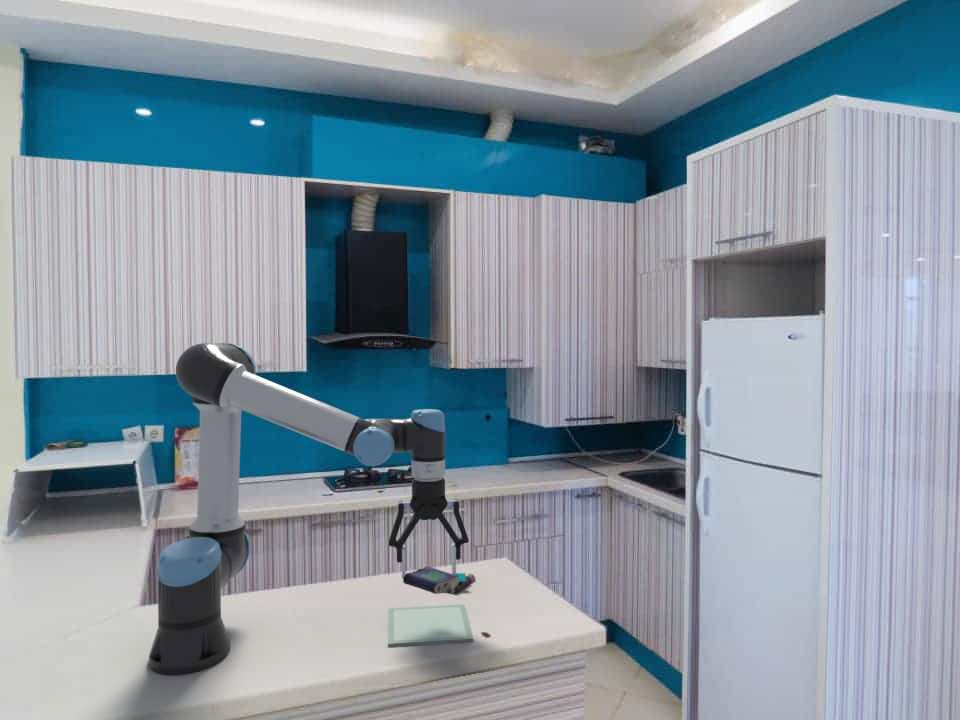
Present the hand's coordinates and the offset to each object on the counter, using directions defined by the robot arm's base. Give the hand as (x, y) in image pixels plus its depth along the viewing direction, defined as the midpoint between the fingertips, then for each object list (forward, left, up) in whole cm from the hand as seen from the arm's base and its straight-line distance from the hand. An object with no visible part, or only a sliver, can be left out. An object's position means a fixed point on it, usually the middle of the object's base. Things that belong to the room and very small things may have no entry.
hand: (428, 574), depth 143 cm
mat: (0, -1, -11) cm, 11 cm away
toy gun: (+7, +22, -12) cm, 26 cm away
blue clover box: (-3, -1, -3) cm, 4 cm away
